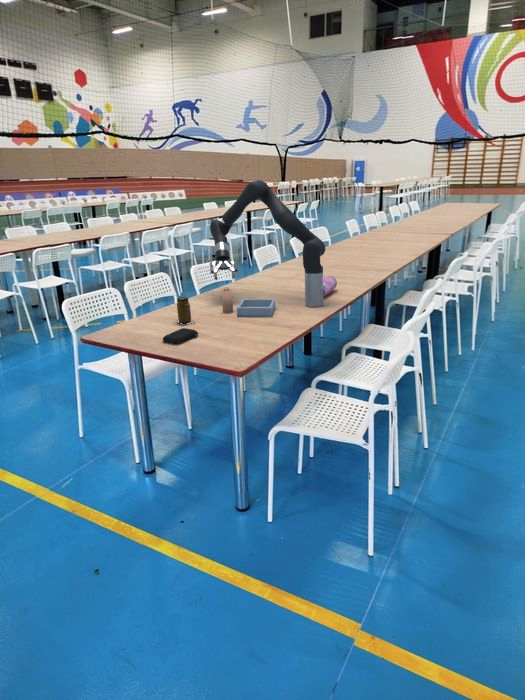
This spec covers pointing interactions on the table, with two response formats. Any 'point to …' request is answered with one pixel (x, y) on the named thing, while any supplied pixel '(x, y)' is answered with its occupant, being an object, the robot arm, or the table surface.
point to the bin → (256, 308)
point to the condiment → (183, 311)
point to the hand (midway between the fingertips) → (224, 278)
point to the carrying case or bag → (180, 336)
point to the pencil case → (329, 285)
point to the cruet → (227, 300)
